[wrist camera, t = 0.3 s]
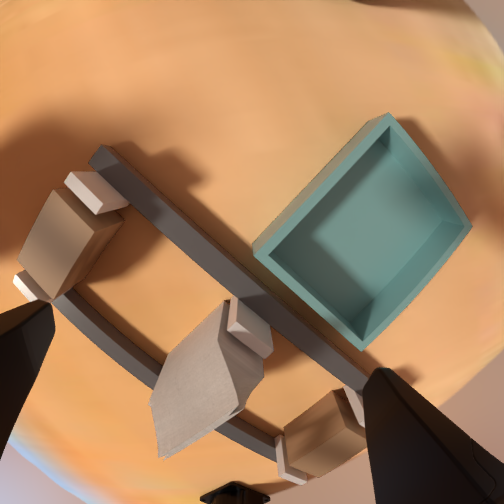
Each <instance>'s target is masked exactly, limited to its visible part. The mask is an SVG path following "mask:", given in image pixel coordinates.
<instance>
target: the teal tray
mask: <svg viewBox="0 0 504 504" xmlns="http://www.w3.org/2000/svg"><path fill="white" fill-rule="evenodd" d="M472 227H473V226H472V225H471V223H470V221H469V219H468V218H467V216H466V215H465V213H464V211H463V210H462V208H461V206H460V205H459V203H458V202H457V200H456V199H455V197H454V196H453V194H452V193H451V191H450V190H449V188H448V187H447V185H446V184H445V182H444V181H443V179H442V178H441V177H440V175H439V174H438V172H437V171H436V170H435V168H434V167H433V165H432V164H431V163H430V161H429V160H428V159H427V157H426V156H425V155H424V154H423V152H422V151H421V150H420V148H419V147H418V146H417V145H416V143H415V142H414V141H413V140H412V138H411V137H410V136H409V135H408V134H407V132H406V131H405V130H404V129H403V128H402V127H401V125H400V124H399V123H398V122H397V121H396V120H395V118H394V117H393V116H392V115H391V114H390V113H389V112H388V113H386V114H383V115H381V116H379V117H377V118H374V119H372V120H370V121H368V122H367V123H366V124H365V125H364V126H363V127H362V128H361V129H360V130H359V131H358V132H357V133H356V134H355V135H354V137H353V138H352V139H351V140H350V141H349V142H348V143H347V144H346V145H345V146H344V147H343V148H342V149H341V150H340V151H339V152H338V153H337V154H336V155H335V156H334V158H333V159H332V160H331V161H330V162H329V163H328V164H327V165H326V166H325V167H324V168H323V169H322V170H321V171H320V172H319V173H318V174H317V175H316V176H315V178H314V179H313V180H312V181H311V182H310V183H309V184H308V185H307V186H306V187H305V188H304V189H303V190H302V191H301V192H300V193H299V194H298V195H297V197H296V198H295V199H294V200H293V201H292V202H291V203H290V204H289V205H288V206H287V207H286V208H285V209H284V210H283V211H282V212H281V213H280V215H279V216H278V217H277V218H276V219H275V220H274V221H273V222H272V223H271V224H270V225H269V226H268V227H267V228H266V229H265V230H264V231H263V233H262V234H261V235H260V236H259V237H258V238H257V239H256V240H255V241H254V242H253V243H252V247H253V256H254V257H255V258H256V259H257V260H259V261H260V262H261V263H262V264H263V265H264V266H265V267H266V268H268V269H269V270H270V271H271V272H272V273H273V274H274V275H275V276H276V277H278V278H279V279H280V280H281V281H282V282H283V283H284V284H285V285H287V286H288V287H289V288H290V289H291V290H292V291H293V292H294V293H296V294H297V295H298V296H299V297H300V298H301V299H302V300H303V301H304V302H306V303H307V304H308V305H309V306H310V307H311V308H312V309H313V310H315V311H316V312H317V313H318V314H319V315H320V316H321V317H322V318H324V319H325V320H326V321H327V322H328V323H329V324H330V325H331V326H333V327H334V328H335V329H336V330H337V331H338V332H339V333H340V334H342V335H343V336H344V337H345V338H346V339H347V340H348V341H349V342H351V343H352V344H353V345H354V346H355V347H356V348H357V349H358V350H360V351H361V352H362V351H363V350H364V349H365V348H366V347H367V346H368V345H369V344H370V343H371V342H372V341H373V340H374V339H375V338H376V337H377V336H378V335H380V334H381V333H382V332H383V331H384V330H385V329H386V328H387V327H388V326H389V325H390V324H391V323H392V322H393V320H394V319H395V318H396V317H397V316H398V315H399V314H400V313H401V312H402V311H403V310H404V309H405V308H406V307H407V306H408V305H409V304H410V303H411V301H412V300H413V299H414V298H415V297H416V296H417V295H418V294H419V293H420V292H421V290H422V289H423V288H424V287H425V286H426V285H427V284H428V282H429V281H430V280H431V279H432V278H433V277H434V275H435V274H436V273H437V272H438V271H439V269H440V268H441V267H442V266H443V265H444V263H445V262H446V261H447V260H448V258H449V257H450V256H451V255H452V253H453V252H454V251H455V249H456V248H457V247H458V246H459V244H460V243H461V242H462V240H463V239H464V238H465V236H466V235H467V234H468V232H469V231H470V230H471V228H472Z"/></svg>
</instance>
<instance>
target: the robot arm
mask: <svg viewBox="0 0 504 504" xmlns="http://www.w3.org/2000/svg"><path fill="white" fill-rule="evenodd" d="M54 334H55V321H54V315H53V309H52V305H51V304H50V303H49V302H46V301H43V300H41V299H37V300H34V301H32V302H29V303H26V304H24V305H21V306H19V307H16V308H14V309H11V310H9V311H6V312H4V313H1V314H0V459H1V457H2V454H3V451H4V449H5V446H6V444H7V441H8V439H9V436H10V434H11V432H12V429H13V427H14V425H15V422H16V420H17V418H18V416H19V413H20V411H21V409H22V407H23V405H24V403H25V401H26V398H27V396H28V394H29V392H30V390H31V388H32V386H33V384H34V382H35V380H36V378H37V376H38V373H39V371H40V368H41V366H42V363H43V361H44V358H45V356H46V353H47V351H48V348H49V346H50V344H51V341H52V339H53V337H54ZM362 399H363V410H364V423H365V435H366V443H367V449H368V454H369V460H370V466H371V473H372V479H373V485H374V493H375V500H376V504H504V463H502V462H501V461H499V460H498V459H497V458H495V457H494V456H493V455H491V454H490V453H489V452H488V451H486V450H485V449H484V448H483V447H482V446H480V445H479V444H478V443H477V442H476V441H474V440H473V439H472V438H470V436H468V435H467V434H466V433H465V432H464V431H463V430H461V429H460V428H459V427H458V426H457V425H456V424H454V423H453V422H452V421H451V420H450V419H449V418H447V417H446V416H445V415H444V414H442V412H440V411H439V410H438V409H437V408H436V407H435V406H433V405H432V404H431V403H430V402H429V401H428V400H426V399H425V398H424V397H423V396H422V395H421V394H419V393H418V392H417V391H416V390H415V389H414V388H412V387H411V386H410V385H409V384H408V383H407V382H405V381H404V380H403V379H402V378H401V377H400V376H398V375H397V374H396V373H395V372H394V371H393V370H391V369H390V368H380V367H379V368H376V369H375V370H374V371H373V373H372V374H371V376H370V378H369V379H368V381H367V382H366V384H365V385H364V387H363V390H362ZM200 501H202V502H204V503H207V504H264V503H267V502H269V501H270V497H269V496H266V495H264V494H261V493H258V492H256V491H253V490H251V489H248V488H246V487H243V486H241V485H238V484H236V483H228V484H226V485H224V486H222V487H220V488H218V489H216V490H214V491H212V492H210V493H207V494H205V495H203V496H201V497H200Z"/></svg>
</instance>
